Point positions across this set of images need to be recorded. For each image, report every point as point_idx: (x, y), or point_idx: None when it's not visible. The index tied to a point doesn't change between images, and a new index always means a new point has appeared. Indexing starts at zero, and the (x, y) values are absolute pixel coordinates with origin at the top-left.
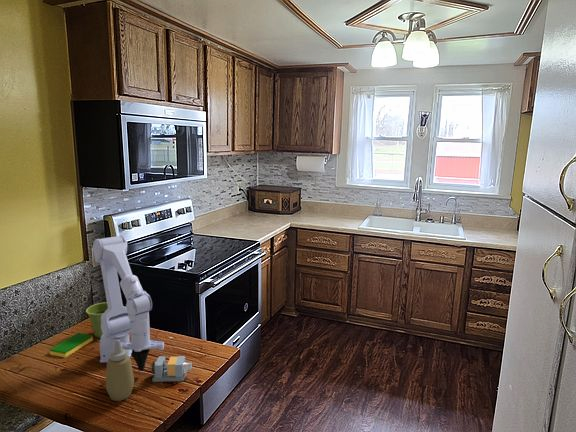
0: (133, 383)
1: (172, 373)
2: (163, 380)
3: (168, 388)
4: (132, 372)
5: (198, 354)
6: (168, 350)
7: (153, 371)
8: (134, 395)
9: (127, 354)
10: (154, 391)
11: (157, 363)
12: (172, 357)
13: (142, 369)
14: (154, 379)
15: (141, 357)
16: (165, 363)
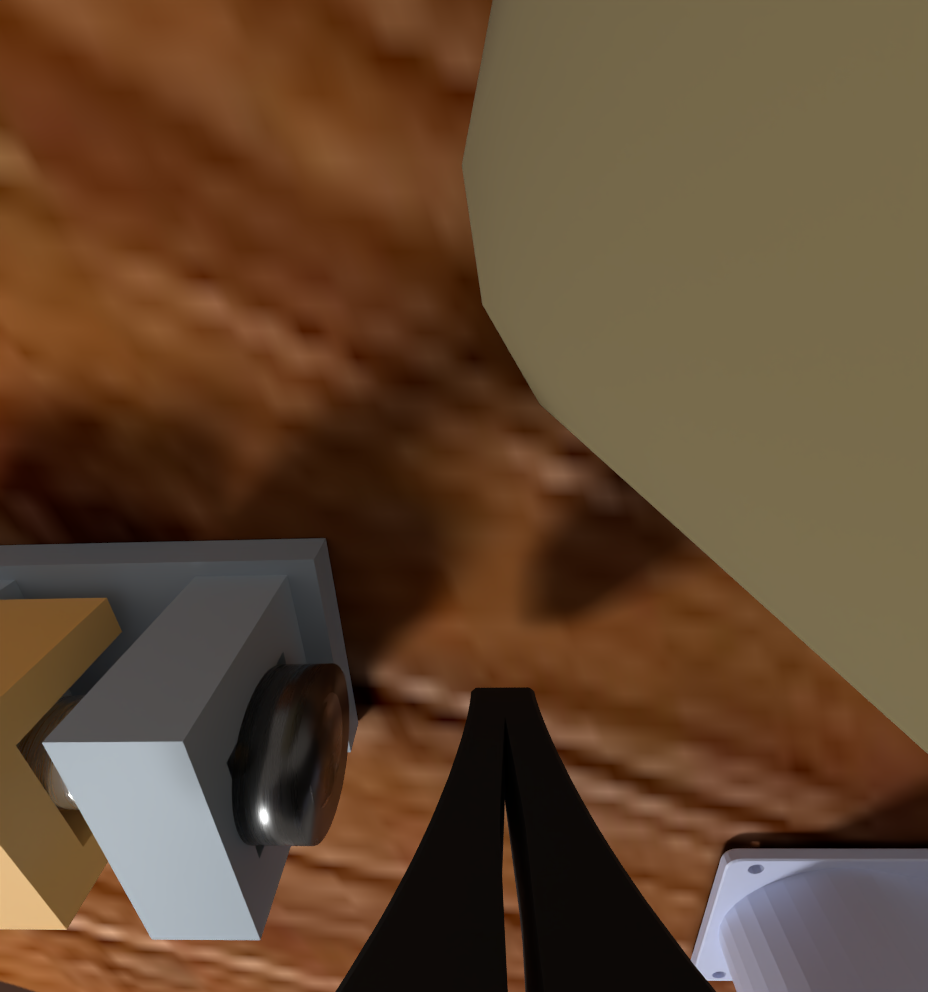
0: (466, 172)
1: (9, 624)
2: (180, 547)
3: (37, 391)
4: (529, 243)
5: (84, 909)
6: None
7: (306, 666)
8: (462, 210)
9: (748, 938)
10: (197, 319)
11: (161, 792)
12: (18, 913)
13: (479, 703)
14: (289, 554)
15: (462, 984)
16: None
